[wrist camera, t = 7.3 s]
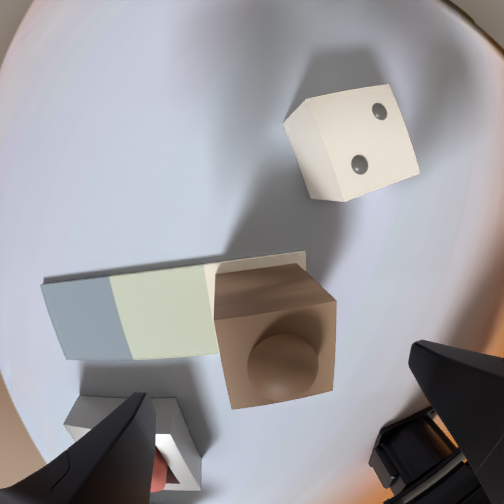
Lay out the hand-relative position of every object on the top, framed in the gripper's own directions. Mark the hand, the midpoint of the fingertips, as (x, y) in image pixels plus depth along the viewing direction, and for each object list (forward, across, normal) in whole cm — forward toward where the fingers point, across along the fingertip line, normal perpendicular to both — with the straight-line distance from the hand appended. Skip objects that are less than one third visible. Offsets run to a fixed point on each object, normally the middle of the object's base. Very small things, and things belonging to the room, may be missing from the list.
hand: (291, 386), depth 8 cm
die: (+7, -4, -8) cm, 11 cm away
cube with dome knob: (+6, 0, 0) cm, 6 cm away
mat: (+7, +5, 0) cm, 8 cm away
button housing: (+7, +10, +9) cm, 15 cm away
